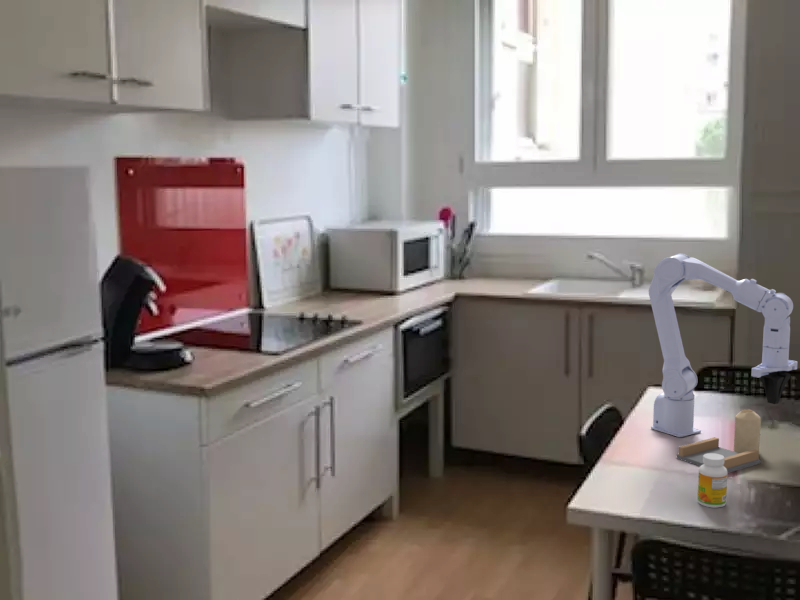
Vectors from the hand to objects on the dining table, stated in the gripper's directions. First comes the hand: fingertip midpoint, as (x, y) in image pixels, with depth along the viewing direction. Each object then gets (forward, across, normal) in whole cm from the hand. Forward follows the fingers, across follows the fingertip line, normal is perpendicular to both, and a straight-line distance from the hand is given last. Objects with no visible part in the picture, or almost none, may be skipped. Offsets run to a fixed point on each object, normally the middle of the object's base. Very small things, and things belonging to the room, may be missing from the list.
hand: (772, 402), depth 217 cm
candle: (+11, -9, 0) cm, 14 cm away
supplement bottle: (+11, -41, -16) cm, 45 cm away
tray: (+10, -19, 0) cm, 22 cm away
